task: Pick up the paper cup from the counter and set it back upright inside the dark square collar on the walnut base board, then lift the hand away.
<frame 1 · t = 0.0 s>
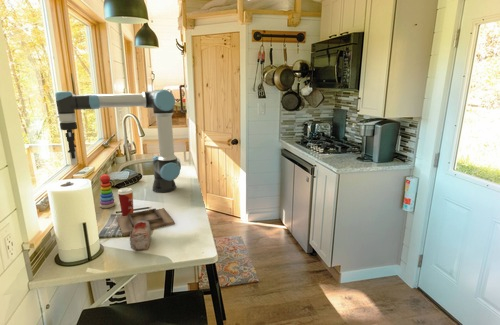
hand: (74, 161, 160), 28 cm above the kitchen counter, tool pointing down, fingers open, 13 cm apart
stacking toy: (107, 206, 173), on the kitchen counter
food item: (141, 244, 130), on the kitchen counter
paper cup: (128, 214, 161), on the kitchen counter
assembly base: (145, 222, 151), on the kitchen counter
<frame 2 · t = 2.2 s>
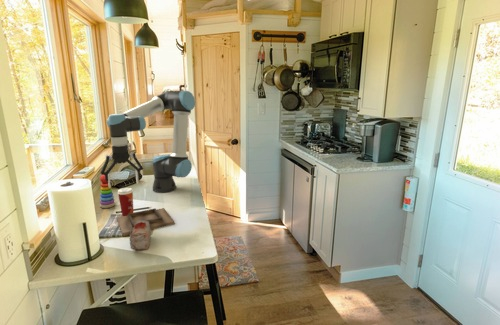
hand: (124, 185, 157), 17 cm above the kitchen counter, tool pointing down, fingers open, 13 cm apart
nothing on the kitchen counter moved.
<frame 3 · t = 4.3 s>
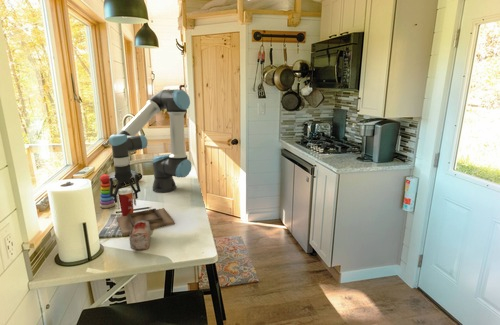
hand: (126, 206, 160), 5 cm above the kitchen counter, tool pointing down, fingers closed on paper cup, 8 cm apart
paper cup: (127, 214, 161), on the kitchen counter, touching gripper
everything else where it was.
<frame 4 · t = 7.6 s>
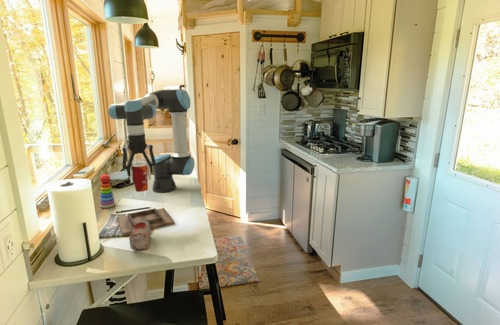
hand: (140, 180, 146), 22 cm above the kitchen counter, tool pointing down, fingers closed on paper cup, 8 cm apart
paper cup: (141, 190, 147), point 17 cm above the kitchen counter, touching gripper
everything else where it was.
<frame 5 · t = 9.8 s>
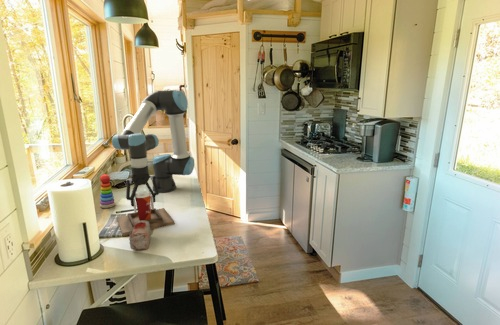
hand: (144, 210, 150), 6 cm above the kitchen counter, tool pointing down, fingers closed on paper cup, 8 cm apart
paper cup: (145, 219, 151), point 2 cm above the kitchen counter, touching gripper
everything else where it was.
when the fingers open (6 cm above the kitchen counter, at t = 11.0 s): paper cup stays where it is, resting on assembly base.
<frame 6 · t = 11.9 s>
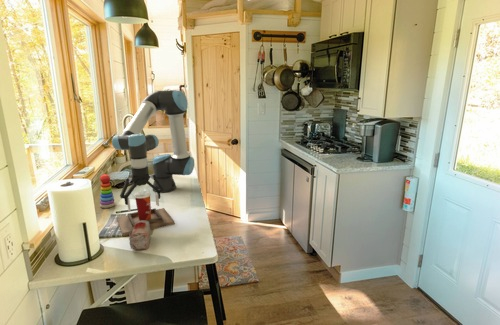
hand: (143, 207, 149), 8 cm above the kitchen counter, tool pointing down, fingers open, 13 cm apart
paper cup: (145, 219, 151), point 1 cm above the kitchen counter, touching assembly base
everything else where it was.
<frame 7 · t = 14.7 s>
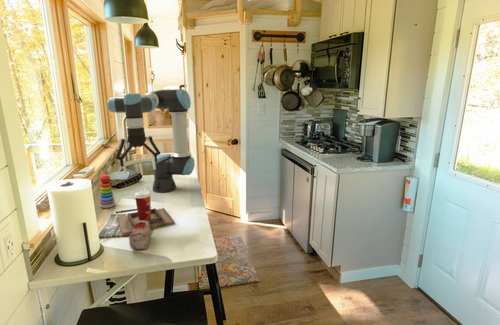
hand: (140, 171, 145), 27 cm above the kitchen counter, tool pointing down, fingers open, 13 cm apart
nothing on the kitchen counter moved.
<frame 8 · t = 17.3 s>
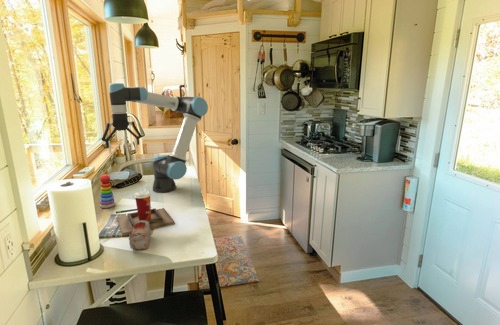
hand: (123, 152, 165), 32 cm above the kitchen counter, tool pointing down, fingers open, 13 cm apart
nothing on the kitchen counter moved.
at the end: paper cup 0.0 cm off-centre on the assembly base, point 1.3 cm above the assembly base's base; paper cup tilted 0°; the gripper is holding nothing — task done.
